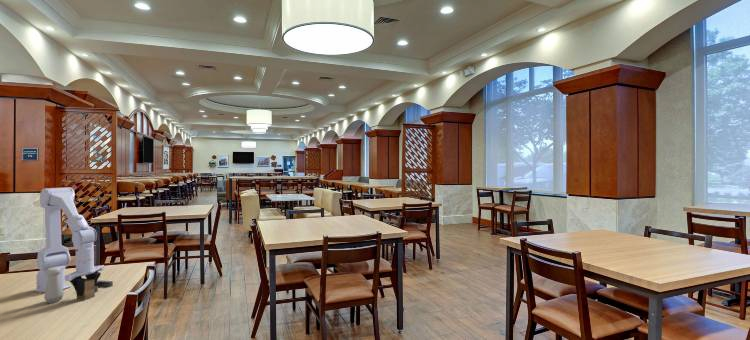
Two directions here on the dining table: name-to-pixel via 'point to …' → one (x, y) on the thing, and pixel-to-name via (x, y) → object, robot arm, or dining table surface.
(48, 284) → the grey vase
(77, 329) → the dining table surface
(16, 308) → the dining table surface
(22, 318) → the dining table surface
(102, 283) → the bracket slot
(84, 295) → the brown upright block
